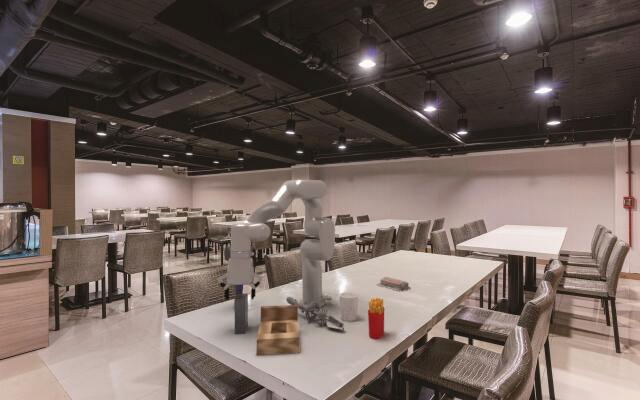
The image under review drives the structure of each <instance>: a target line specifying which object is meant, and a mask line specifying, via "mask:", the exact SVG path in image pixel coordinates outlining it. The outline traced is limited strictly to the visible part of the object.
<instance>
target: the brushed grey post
mask: <svg viewBox="0 0 640 400" xmlns="http://www.w3.org/2000/svg"><path fill="white" fill-rule="evenodd" d="M233 308H234V310H233V311H234V335H242V334H243V335H244V334H245V335H246V333H247V330H248V328H249V293H243V294H237V296H236V295H235V298H234V307H233Z"/></svg>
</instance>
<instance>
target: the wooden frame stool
mask: <svg viewBox="0 0 640 400" xmlns="http://www.w3.org/2000/svg"><path fill="white" fill-rule="evenodd" d="M300 343H301V342H300V327H299V308H298V305H291V304H288V305H286V304H285V305H284V304H283V305H263V306H262V305H261V306H260V324H259V327H258V333H257V337H256V356H263V355H279V354H297V353H300V352H301V351H300V350H301V348H300V347H301V346H300Z"/></svg>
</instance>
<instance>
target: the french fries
mask: <svg viewBox="0 0 640 400" xmlns="http://www.w3.org/2000/svg"><path fill="white" fill-rule="evenodd" d="M368 308H369V309H368V310H367V319H368V322H367V323H368V337H369V338H370V339H373V340H378V339H379V340H380V339H381V338H382V337H383V336H384V335H385V307H384V299H383V298H380V297H375V298H372V299H371V298H370V300H369V301H368Z"/></svg>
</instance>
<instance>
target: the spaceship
mask: <svg viewBox="0 0 640 400" xmlns="http://www.w3.org/2000/svg"><path fill="white" fill-rule="evenodd" d="M285 299H286V302H287V304H288V305H298V310H301V311H300V312H301V313H302V314H304V313H305V314H304V316H305V319H306V320H307V321H308V322H313V321H315V320H316V319H317V325H319V326H321V327H323V326H324V324H326V326H327V327H328V328H332V329H338V330H345V329H344V327H346V326H345V325H346V324H345V323H344V321H343V320H342V319H341V318H339V317H338V316H333V315H329V314H328V311H329V309H328V308H327V309H326V308H325V307H324V306H322V308H321V307H319V305H318V303H316V302H313V303H311V304H310V305H309V306H308V305H307V302H304V303H300V301H298V300H297V299H295V298H294V297H291V296H287V297H286V298H285ZM314 307H315V308H314ZM320 308H321V311H320Z"/></svg>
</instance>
